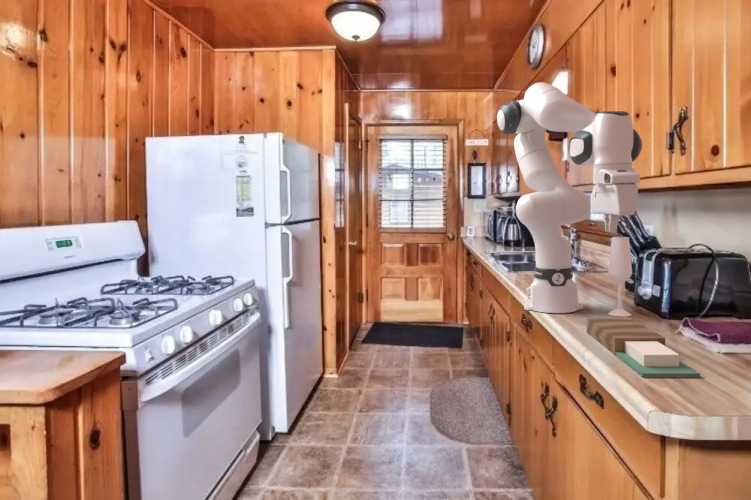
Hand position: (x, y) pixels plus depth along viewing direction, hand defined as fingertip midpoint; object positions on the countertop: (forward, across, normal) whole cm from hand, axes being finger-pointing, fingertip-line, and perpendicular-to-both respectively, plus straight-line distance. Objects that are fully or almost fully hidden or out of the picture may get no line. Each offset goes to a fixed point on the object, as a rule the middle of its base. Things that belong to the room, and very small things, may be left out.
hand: (611, 232), depth 122 cm
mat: (+27, +21, +2) cm, 34 cm away
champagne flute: (+28, -28, +13) cm, 42 cm away
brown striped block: (+28, +3, +2) cm, 28 cm away
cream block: (+26, +19, +2) cm, 33 cm away
